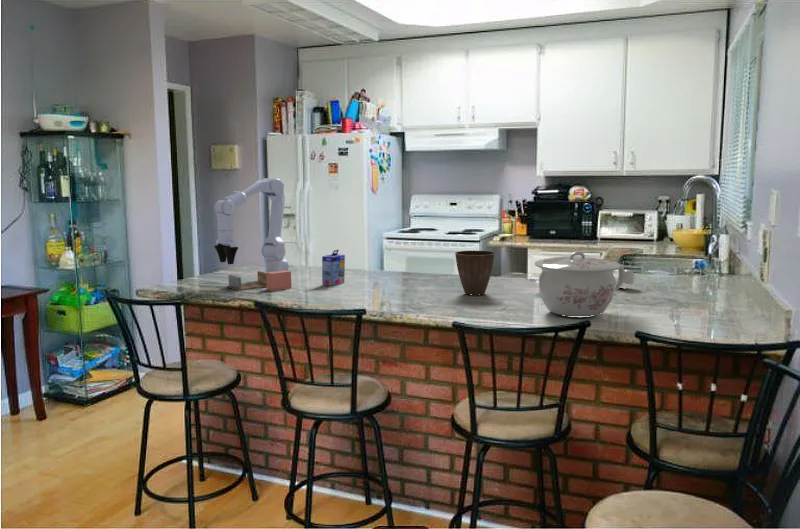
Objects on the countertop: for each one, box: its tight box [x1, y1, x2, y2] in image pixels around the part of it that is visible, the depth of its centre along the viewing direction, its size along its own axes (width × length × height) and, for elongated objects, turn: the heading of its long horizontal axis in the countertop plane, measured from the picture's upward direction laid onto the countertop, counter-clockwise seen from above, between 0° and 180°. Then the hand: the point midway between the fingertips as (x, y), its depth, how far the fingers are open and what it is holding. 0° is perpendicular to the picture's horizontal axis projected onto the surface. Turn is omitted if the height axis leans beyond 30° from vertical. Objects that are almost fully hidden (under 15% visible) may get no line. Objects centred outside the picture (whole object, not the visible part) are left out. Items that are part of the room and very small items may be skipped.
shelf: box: [227, 270, 267, 291], centre depth 266 cm, size 15×10×5 cm, turn 129°
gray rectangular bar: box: [228, 274, 242, 289], centre depth 261 cm, size 1×9×4 cm, turn 39°
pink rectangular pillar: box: [265, 270, 292, 292], centre depth 261 cm, size 9×4×7 cm, turn 129°
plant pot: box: [454, 250, 496, 296], centre depth 247 cm, size 15×15×16 cm
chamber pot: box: [534, 251, 626, 316], centre depth 211 cm, size 28×28×21 cm
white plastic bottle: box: [612, 269, 636, 286], centre depth 261 cm, size 8×19×8 cm, turn 31°
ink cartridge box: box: [321, 249, 346, 287], centre depth 270 cm, size 10×6×14 cm, turn 152°
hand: (226, 263), depth 263 cm, fingers open, 7 cm apart
